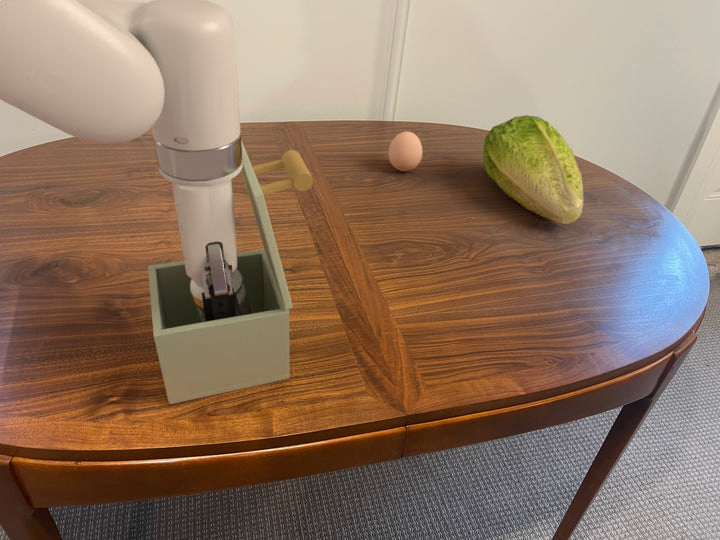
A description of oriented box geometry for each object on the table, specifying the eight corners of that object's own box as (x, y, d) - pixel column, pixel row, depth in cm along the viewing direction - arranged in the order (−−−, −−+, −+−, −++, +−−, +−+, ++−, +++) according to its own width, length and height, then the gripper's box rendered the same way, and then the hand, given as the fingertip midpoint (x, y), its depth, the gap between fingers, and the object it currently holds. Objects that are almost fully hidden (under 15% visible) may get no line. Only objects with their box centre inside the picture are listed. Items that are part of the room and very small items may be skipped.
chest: (169, 405, 59) (153, 336, 52) (162, 332, 68) (147, 265, 61) (289, 378, 63) (289, 312, 57) (269, 313, 72) (266, 248, 65)
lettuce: (528, 210, 85) (616, 166, 83) (464, 127, 101) (538, 88, 99) (538, 260, 96) (616, 221, 94) (479, 178, 112) (545, 143, 110)
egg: (379, 168, 106) (383, 131, 102) (400, 158, 111) (405, 122, 106) (405, 181, 103) (411, 143, 98) (426, 170, 107) (432, 133, 102)
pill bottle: (202, 347, 61) (176, 282, 54) (210, 311, 65) (187, 247, 59) (252, 342, 61) (232, 277, 54) (256, 307, 65) (239, 242, 58)
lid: (254, 196, 47) (319, 178, 48) (232, 139, 55) (288, 125, 56) (285, 310, 56) (339, 293, 57) (263, 246, 65) (310, 232, 66)
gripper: (151, 116, 54) (175, 259, 65) (162, 205, 41) (189, 363, 52) (227, 112, 56) (237, 250, 67) (259, 195, 44) (266, 348, 55)
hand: (216, 298), depth 60 cm, fingers closed on pill bottle, 5 cm apart
